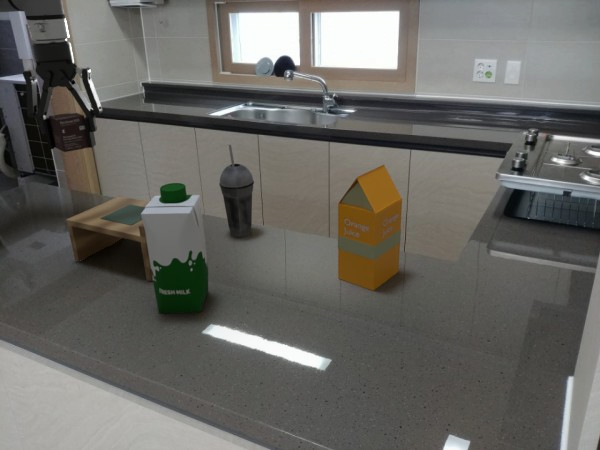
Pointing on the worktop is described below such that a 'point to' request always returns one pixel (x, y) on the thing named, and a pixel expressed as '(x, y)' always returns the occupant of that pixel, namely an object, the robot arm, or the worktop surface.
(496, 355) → the worktop surface
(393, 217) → the orange juice
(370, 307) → the worktop surface
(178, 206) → the milk carton
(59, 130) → the box
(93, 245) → the shelf
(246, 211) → the beverage cup
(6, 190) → the worktop surface
